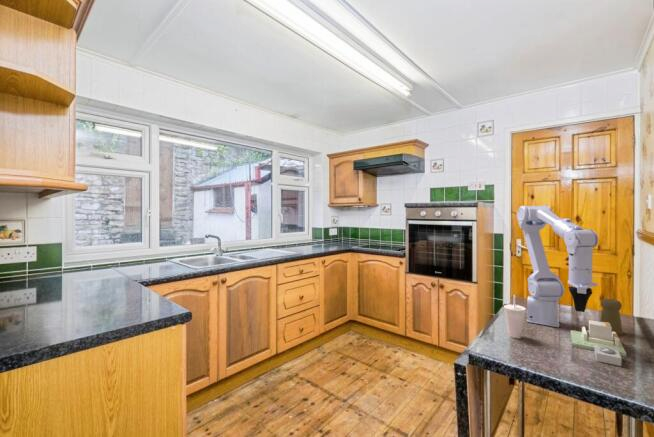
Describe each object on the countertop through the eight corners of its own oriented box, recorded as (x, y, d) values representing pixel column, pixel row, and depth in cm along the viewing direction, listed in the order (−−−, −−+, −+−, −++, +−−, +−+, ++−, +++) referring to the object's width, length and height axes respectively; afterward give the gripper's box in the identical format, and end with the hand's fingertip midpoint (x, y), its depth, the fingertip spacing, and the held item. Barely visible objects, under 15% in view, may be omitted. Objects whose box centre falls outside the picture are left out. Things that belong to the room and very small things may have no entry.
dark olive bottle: (616, 328, 106) (617, 297, 106) (627, 336, 100) (627, 302, 100) (595, 327, 108) (595, 296, 108) (604, 333, 102) (604, 301, 102)
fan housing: (596, 361, 85) (596, 351, 85) (594, 352, 90) (594, 343, 90) (621, 366, 82) (621, 356, 82) (617, 357, 87) (617, 347, 87)
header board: (572, 346, 94) (572, 335, 94) (570, 332, 104) (570, 323, 103) (626, 357, 87) (626, 345, 87) (619, 341, 96) (619, 331, 96)
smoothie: (501, 336, 102) (501, 294, 101) (506, 330, 107) (506, 290, 106) (523, 341, 98) (524, 298, 97) (527, 335, 102) (528, 293, 102)
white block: (589, 339, 96) (590, 322, 96) (588, 335, 99) (588, 319, 99) (611, 343, 93) (611, 326, 93) (609, 338, 96) (609, 322, 96)
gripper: (600, 273, 88) (599, 320, 88) (594, 265, 99) (594, 306, 100) (568, 271, 92) (568, 315, 92) (567, 263, 104) (566, 303, 104)
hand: (579, 310), depth 96 cm, fingers closed
